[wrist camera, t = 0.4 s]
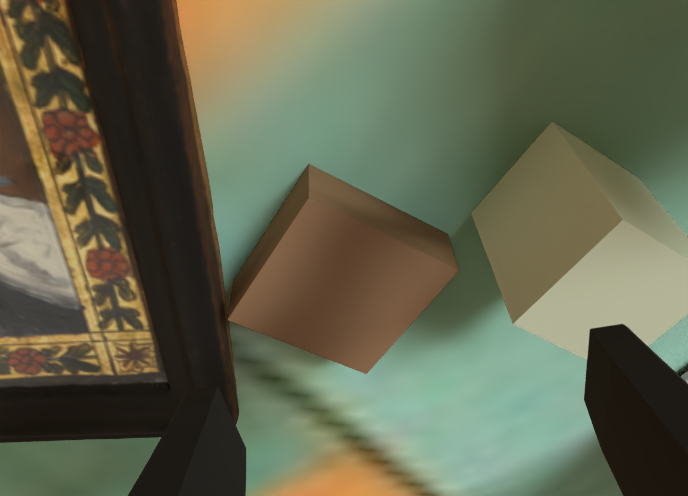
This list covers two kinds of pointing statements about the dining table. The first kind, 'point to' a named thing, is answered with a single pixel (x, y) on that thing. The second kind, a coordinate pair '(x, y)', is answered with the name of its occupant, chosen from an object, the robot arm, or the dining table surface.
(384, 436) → the dining table surface
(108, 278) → the framed icon painting
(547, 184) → the sage block
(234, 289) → the walnut base
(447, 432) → the dining table surface
